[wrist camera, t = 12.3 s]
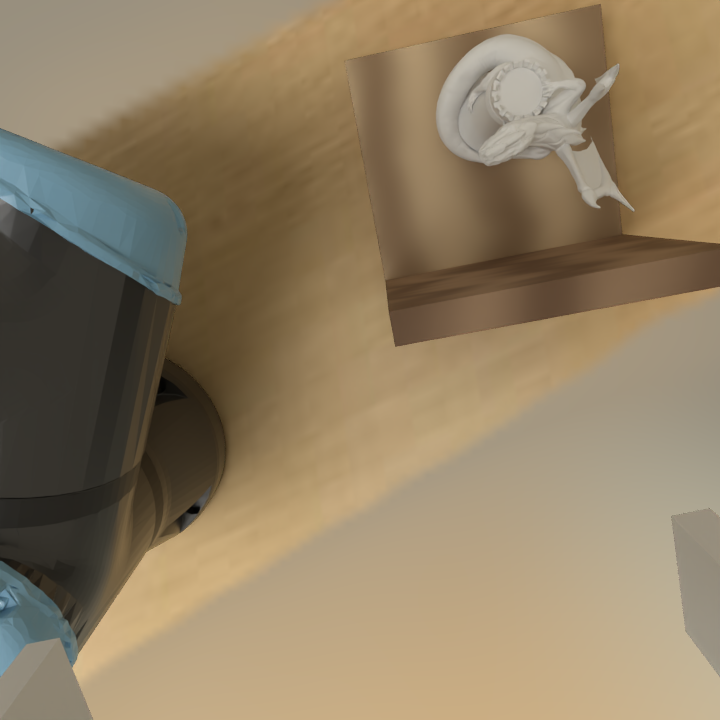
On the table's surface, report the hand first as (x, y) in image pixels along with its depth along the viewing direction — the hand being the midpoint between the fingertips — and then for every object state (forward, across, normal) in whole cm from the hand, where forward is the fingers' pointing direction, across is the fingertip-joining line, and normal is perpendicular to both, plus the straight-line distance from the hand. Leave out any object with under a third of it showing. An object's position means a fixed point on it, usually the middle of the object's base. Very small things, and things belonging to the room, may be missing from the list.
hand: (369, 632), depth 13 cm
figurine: (+28, +11, +10) cm, 32 cm away
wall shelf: (+31, +10, +9) cm, 34 cm away
